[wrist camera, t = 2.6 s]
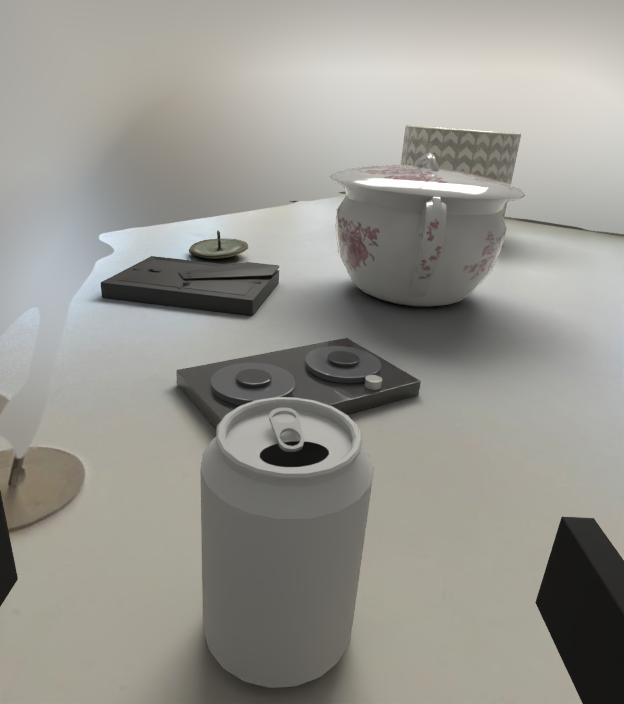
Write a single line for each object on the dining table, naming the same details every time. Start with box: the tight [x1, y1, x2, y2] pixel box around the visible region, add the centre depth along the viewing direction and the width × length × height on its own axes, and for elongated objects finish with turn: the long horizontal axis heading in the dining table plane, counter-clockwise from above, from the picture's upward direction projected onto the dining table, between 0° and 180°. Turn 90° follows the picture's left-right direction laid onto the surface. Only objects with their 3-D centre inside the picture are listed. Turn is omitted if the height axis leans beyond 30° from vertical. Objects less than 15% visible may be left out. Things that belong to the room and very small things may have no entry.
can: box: [201, 397, 374, 688], centre depth 25 cm, size 8×8×12 cm
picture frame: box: [101, 256, 279, 316], centre depth 78 cm, size 16×3×21 cm
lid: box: [189, 231, 248, 259], centre depth 97 cm, size 11×10×5 cm
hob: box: [177, 338, 421, 430], centre depth 52 cm, size 12×20×2 cm, turn 123°
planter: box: [401, 125, 521, 220], centre depth 125 cm, size 25×25×24 cm
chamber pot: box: [330, 152, 525, 307], centre depth 80 cm, size 28×27×21 cm
